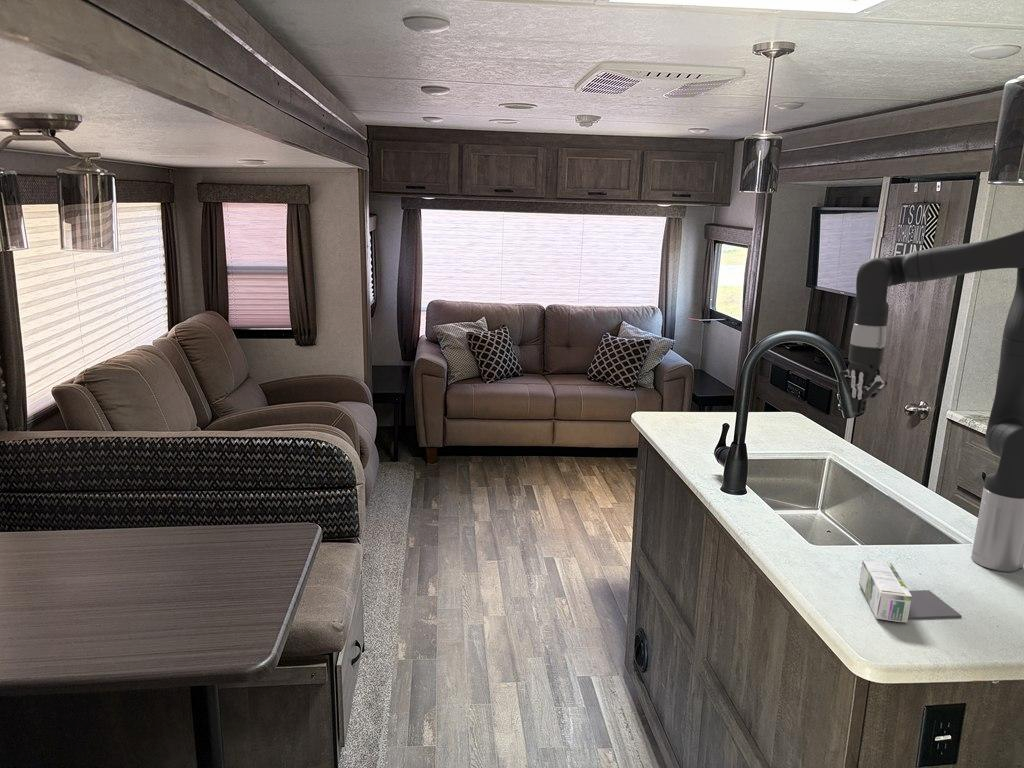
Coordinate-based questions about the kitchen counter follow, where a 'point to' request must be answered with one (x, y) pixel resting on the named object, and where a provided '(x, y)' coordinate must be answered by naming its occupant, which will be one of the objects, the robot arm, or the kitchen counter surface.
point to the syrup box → (885, 591)
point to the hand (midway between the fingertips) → (858, 413)
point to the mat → (929, 606)
